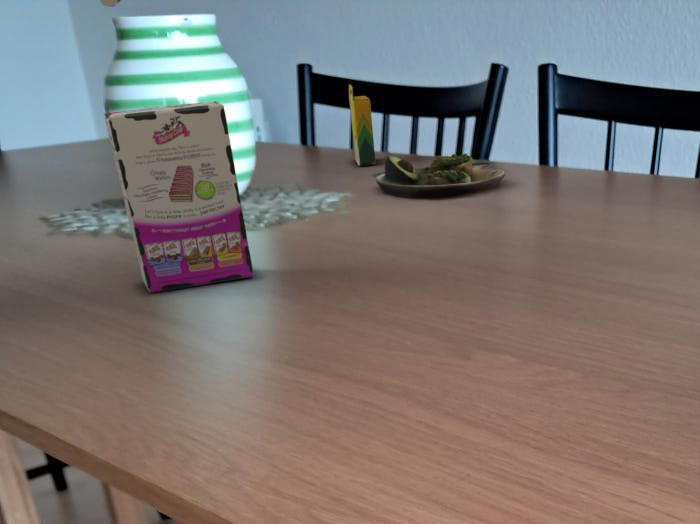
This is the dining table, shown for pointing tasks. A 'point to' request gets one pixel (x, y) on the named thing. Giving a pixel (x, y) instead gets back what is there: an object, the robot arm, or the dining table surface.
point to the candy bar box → (181, 194)
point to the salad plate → (436, 177)
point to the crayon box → (362, 129)
